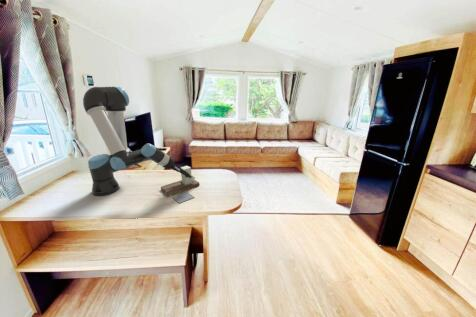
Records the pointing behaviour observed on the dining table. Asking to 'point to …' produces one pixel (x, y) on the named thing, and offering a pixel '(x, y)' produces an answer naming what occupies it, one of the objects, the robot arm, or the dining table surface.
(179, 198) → the mat
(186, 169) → the puzzle block
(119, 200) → the dining table surface
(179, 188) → the puzzle board
